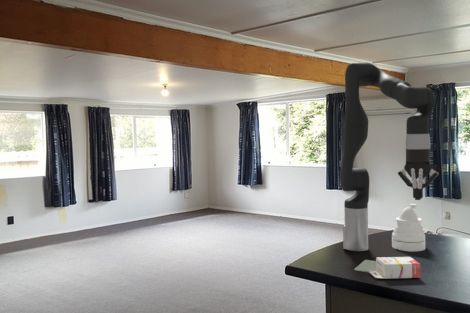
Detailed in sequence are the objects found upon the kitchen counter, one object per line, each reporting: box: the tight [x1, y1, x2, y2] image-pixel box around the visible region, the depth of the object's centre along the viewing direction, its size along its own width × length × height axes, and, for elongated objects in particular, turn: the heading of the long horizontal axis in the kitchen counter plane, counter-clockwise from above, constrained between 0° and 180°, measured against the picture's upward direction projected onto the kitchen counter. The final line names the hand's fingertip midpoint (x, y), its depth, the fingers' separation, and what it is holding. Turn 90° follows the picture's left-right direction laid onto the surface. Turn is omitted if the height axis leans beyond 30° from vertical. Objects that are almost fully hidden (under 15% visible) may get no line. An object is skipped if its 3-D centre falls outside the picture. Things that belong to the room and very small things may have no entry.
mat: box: [354, 259, 376, 273], centre depth 155 cm, size 16×13×1 cm
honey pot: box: [391, 203, 426, 252], centre depth 182 cm, size 13×13×18 cm
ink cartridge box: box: [368, 256, 422, 280], centre depth 146 cm, size 9×5×15 cm
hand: (418, 199), depth 147 cm, fingers closed
